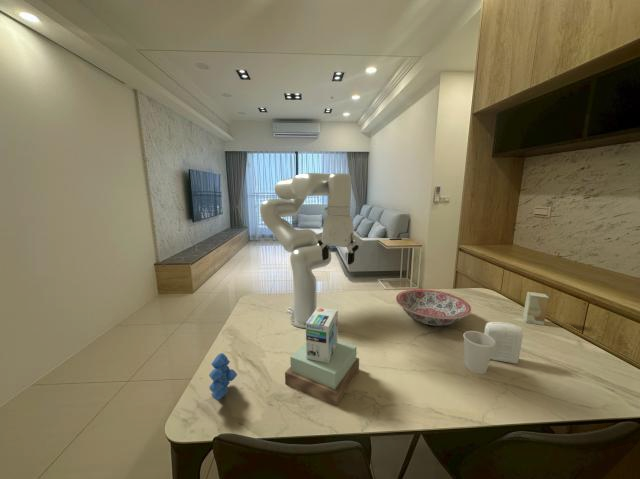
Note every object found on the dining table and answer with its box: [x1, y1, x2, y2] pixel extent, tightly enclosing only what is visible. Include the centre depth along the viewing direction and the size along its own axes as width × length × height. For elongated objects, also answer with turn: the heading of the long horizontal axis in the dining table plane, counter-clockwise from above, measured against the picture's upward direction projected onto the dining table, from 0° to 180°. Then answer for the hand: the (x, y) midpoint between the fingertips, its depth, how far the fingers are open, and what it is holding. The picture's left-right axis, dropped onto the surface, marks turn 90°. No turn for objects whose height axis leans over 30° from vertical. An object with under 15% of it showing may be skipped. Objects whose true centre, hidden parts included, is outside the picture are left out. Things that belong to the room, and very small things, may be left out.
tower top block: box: [290, 339, 357, 390], centre depth 76 cm, size 14×14×4 cm
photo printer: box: [483, 321, 524, 364], centre depth 84 cm, size 10×4×12 cm, turn 72°
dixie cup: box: [462, 330, 495, 374], centre depth 80 cm, size 8×8×10 cm
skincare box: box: [522, 291, 550, 326], centre depth 108 cm, size 6×4×12 cm
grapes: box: [208, 352, 238, 401], centre depth 69 cm, size 12×7×12 cm, turn 8°
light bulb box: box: [305, 307, 339, 363], centre depth 75 cm, size 11×7×11 cm, turn 163°
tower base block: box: [284, 356, 360, 407], centre depth 77 cm, size 16×16×4 cm
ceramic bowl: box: [395, 288, 472, 327], centre depth 111 cm, size 29×29×8 cm
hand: (337, 261), depth 90 cm, fingers open, 9 cm apart
